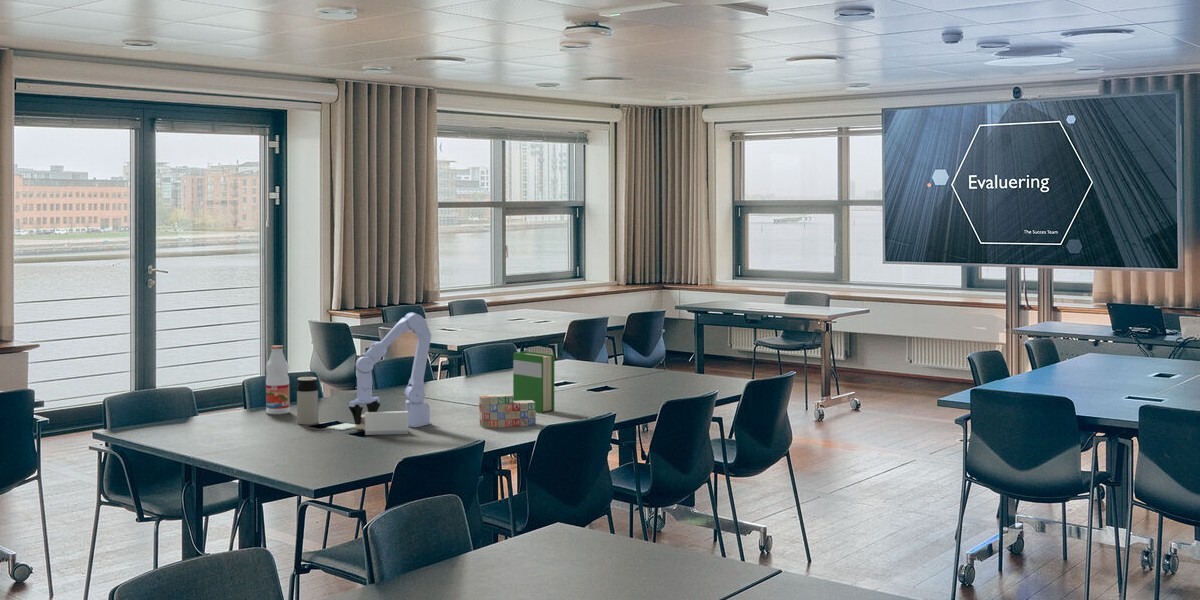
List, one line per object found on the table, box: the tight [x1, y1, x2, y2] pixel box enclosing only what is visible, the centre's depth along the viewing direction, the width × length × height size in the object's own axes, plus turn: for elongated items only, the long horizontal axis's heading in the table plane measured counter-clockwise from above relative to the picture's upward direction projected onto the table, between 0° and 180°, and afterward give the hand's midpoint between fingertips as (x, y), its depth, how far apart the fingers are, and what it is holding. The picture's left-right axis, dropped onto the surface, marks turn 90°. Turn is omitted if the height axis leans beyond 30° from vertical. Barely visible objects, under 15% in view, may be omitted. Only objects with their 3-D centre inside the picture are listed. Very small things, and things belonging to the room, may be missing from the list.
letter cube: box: [355, 413, 365, 431], centre depth 441 cm, size 5×5×5 cm
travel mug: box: [296, 376, 319, 426], centre depth 451 cm, size 8×8×18 cm
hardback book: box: [512, 350, 555, 414], centre depth 484 cm, size 18×7×24 cm, turn 46°
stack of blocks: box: [478, 393, 537, 429], centre depth 449 cm, size 21×6×12 cm, turn 106°
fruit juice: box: [265, 344, 291, 415], centre depth 474 cm, size 9×9×28 cm
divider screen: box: [364, 410, 409, 436], centre depth 431 cm, size 16×5×8 cm, turn 100°
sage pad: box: [326, 422, 356, 432], centre depth 442 cm, size 10×8×1 cm
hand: (364, 422), depth 441 cm, fingers open, 7 cm apart
